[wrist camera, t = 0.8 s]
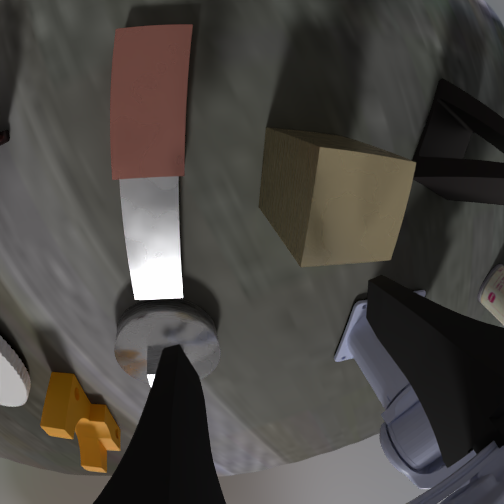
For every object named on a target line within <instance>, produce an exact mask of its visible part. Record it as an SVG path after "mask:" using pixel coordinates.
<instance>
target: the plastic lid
mask: <svg viewBox="0 0 504 504" xmlns="http://www.w3.org/2000/svg"><path fill="white" fill-rule="evenodd" d="M21 361H22V360H21V359H19V357H18V355H17V354H16V353H15V351H14V350H13V349H11V346H10V345H8V344H7V342H6V341H5V340H3V339H2V336H0V405H3V406H5V405H6V406H10V407H12V406H13V407H15V406H16V407H17V406H20V405H22V404H24V403H26V401H27V398H28V394H29V391H30V386H31V382H30V378H29V377H30V376H29V375H28V371H26V367H24V363H22V362H21Z"/></svg>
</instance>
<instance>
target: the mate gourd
mask: <svg viewBox="0 0 504 504" xmlns="http://www.w3.org/2000/svg"><path fill="white" fill-rule="evenodd" d="M9 139H10V137H9V131H8V130H5V131H2V132H0V145H2V144H4V143H6V142H8V141H9Z"/></svg>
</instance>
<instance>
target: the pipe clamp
mask: <svg viewBox="0 0 504 504" xmlns="http://www.w3.org/2000/svg"><path fill="white" fill-rule="evenodd" d="M40 426H41V427H42V428H43V429H44V430H45V431H46V433H47V434H48V435H49V436H55V437H61V438H68V439H73V437H74V431H76V434H77V437H78V441H79V446H80V454H81V466H82V467H83V468H85V469H86V470H87V471H95V472H105V473H107V450H115V451H120V429H119V427H118V425H117V424H116V422H115V420H114V419H113V417H112V415H111V413H110V412H109V410H108V408H107V406H106V405H102V404H91V403H90V401H89V400H88V398H87V396H86V394H85V393H84V391H83V389H82V387H81V386H80V384H79V382H78V380H77V378H76V376H75V375H74V374H71V373H59V372H52V373H51V377H50V381H49V385H48V390H47V394H46V398H45V403H44V408H43V413H42V418H41V424H40Z"/></svg>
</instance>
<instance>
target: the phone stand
mask: <svg viewBox="0 0 504 504" xmlns="http://www.w3.org/2000/svg"><path fill="white" fill-rule="evenodd" d="M426 123H427V126H426V127H424V130H423V133H422V136H421V139H420V141H419V144H418V147H417V150H416V152H415V155H414V157H413V160H412V161H414V162H416V167H415V172H414V176H413V179H414V180H416V181H417V182H419V183H421V184H422V185H424V186H426V187H427V188H429V189H431V190H432V191H434V192H436V193H437V194H439V195H440V196H442V197H444V198H445V199H447V200H453V201H466V202H477V203H487V204H497V205H504V163H500V162H492V161H482V160H471V159H463V158H464V155H465V152H466V149H467V146H468V143H469V140H470V137H471V134H472V133H477V134H478V135H480V136H481V137H482V138H484V139H485V140H487V141H488V142H489V143H491V144H492V145H493V146H495V147H496V148H497V149H499V150H500V151H501V152H503V153H504V119H503V118H502V117H501V116H499V115H498V114H497V113H495V112H494V111H493V110H491V109H490V108H488V107H487V106H486V105H484V104H483V103H481V102H480V101H478V100H477V99H475V98H474V97H472V96H471V95H469V94H468V93H466V92H465V91H463V90H461V89H460V88H458V87H456V86H455V85H453V84H451V83H450V82H448V81H446V80H444V79H441V80H440V81H439V83H438V86H437V90H436V93H435V97H434V100H433V103H432V106H431V109H430V112H429V116H428V119H427V122H426Z"/></svg>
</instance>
